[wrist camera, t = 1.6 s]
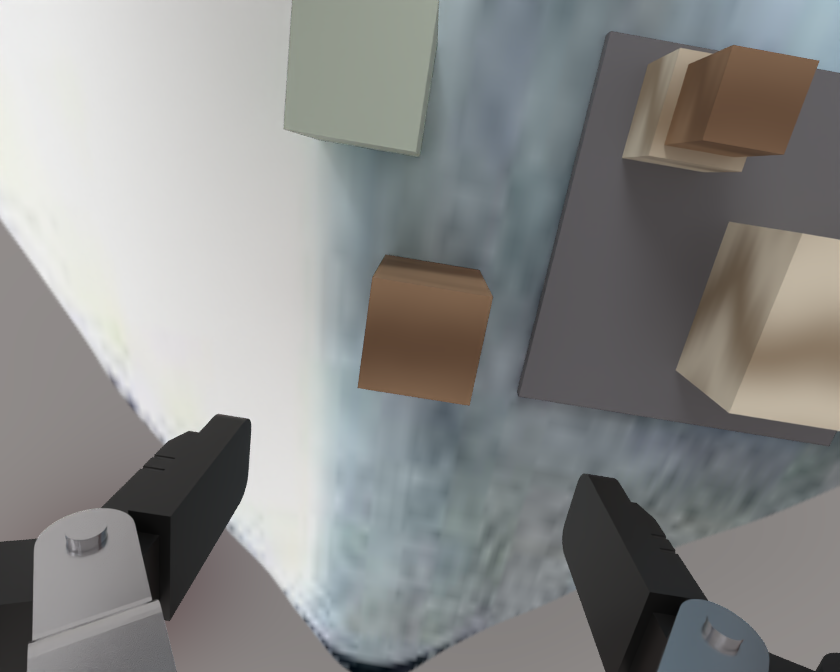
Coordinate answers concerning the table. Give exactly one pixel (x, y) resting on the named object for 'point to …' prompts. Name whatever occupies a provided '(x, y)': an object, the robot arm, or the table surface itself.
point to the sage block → (361, 71)
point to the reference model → (717, 108)
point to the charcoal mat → (663, 251)
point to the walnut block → (424, 330)
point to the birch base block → (770, 327)
